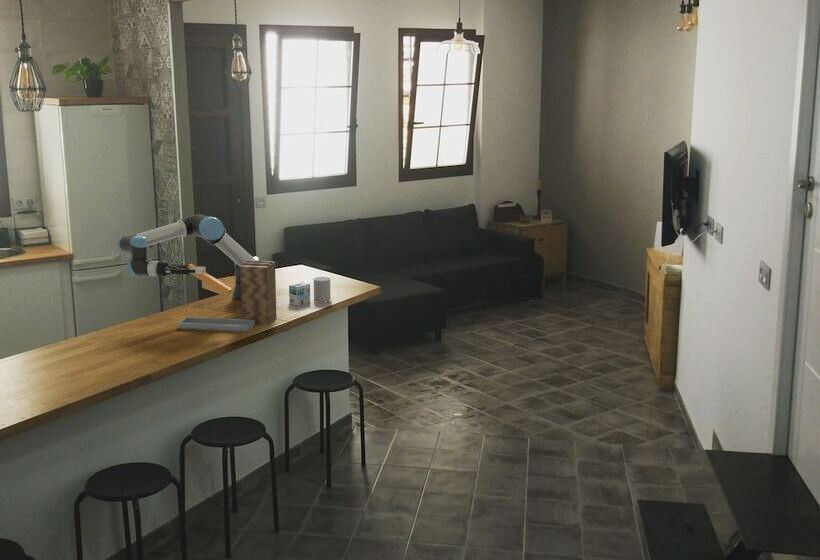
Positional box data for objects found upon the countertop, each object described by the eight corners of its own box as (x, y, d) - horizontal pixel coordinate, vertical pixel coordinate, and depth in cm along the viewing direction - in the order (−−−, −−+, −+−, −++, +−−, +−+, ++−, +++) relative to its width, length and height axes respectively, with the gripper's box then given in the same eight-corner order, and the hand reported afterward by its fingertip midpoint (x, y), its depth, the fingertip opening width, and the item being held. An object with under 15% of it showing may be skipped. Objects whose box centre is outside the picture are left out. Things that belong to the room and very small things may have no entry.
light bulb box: (297, 305, 481) (297, 286, 478) (288, 304, 484) (288, 285, 482) (311, 302, 489) (310, 283, 486) (302, 300, 493) (301, 281, 490)
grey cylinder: (311, 298, 496) (311, 277, 493) (328, 297, 499) (327, 276, 497) (316, 302, 487) (315, 281, 485) (332, 301, 491) (332, 280, 488)
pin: (185, 270, 431) (188, 264, 430) (188, 269, 434) (191, 263, 433) (226, 296, 431) (229, 290, 430) (229, 294, 434) (232, 288, 433)
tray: (177, 328, 434) (177, 323, 433) (186, 322, 445) (186, 316, 445) (247, 332, 429) (247, 326, 428) (255, 325, 441) (254, 320, 440)
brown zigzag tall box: (241, 324, 444) (239, 264, 437) (250, 316, 457) (248, 258, 450) (268, 325, 442) (266, 265, 435) (276, 318, 455) (274, 259, 448)
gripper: (165, 272, 443) (210, 274, 440) (151, 279, 427) (197, 281, 424) (165, 257, 441) (209, 259, 438) (151, 264, 425) (197, 266, 422)
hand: (203, 270), depth 431 cm, fingers closed on pin, 3 cm apart
